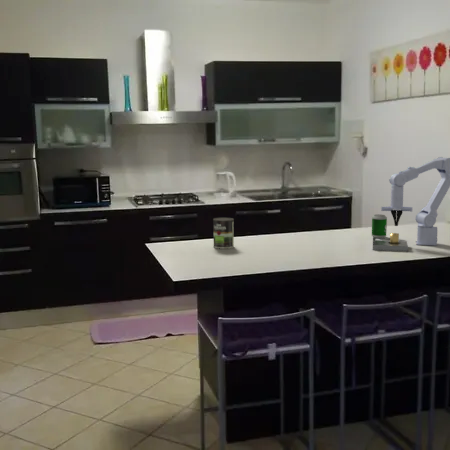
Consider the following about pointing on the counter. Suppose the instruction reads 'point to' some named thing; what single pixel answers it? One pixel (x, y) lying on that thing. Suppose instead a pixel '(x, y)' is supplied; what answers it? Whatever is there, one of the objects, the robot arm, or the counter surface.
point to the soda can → (379, 226)
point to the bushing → (394, 238)
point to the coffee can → (223, 232)
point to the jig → (389, 245)
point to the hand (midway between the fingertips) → (396, 225)
